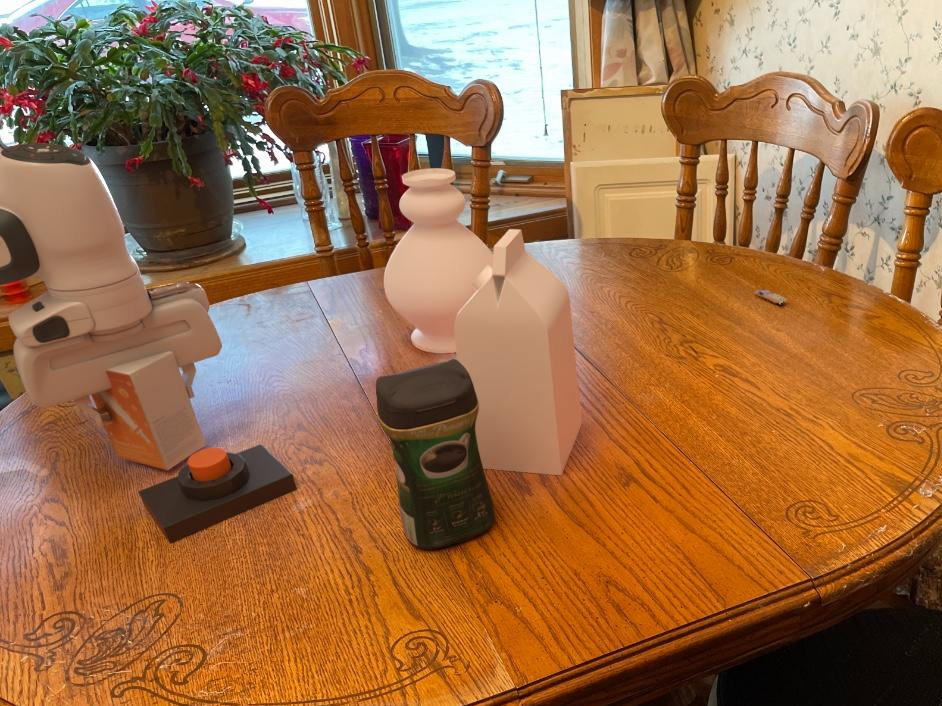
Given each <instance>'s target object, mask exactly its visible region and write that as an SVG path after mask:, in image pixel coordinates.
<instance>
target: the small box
mask: <svg viewBox="0 0 942 706" xmlns="http://www.w3.org/2000/svg"><path fill="white" fill-rule="evenodd" d="M106 373H107V376H108V378H109V380H110V383H111V386H112V388H111V389H108V390H104V391H101V392H98V393H95V394H91V395H90V396H91V398H92V400H93V402H94V405H95V408H96V409H99V408H102V407H105V408H106V410H107V411H108V413H109V415H110V419H111V420H112V422H113V424H112V425H110V426H107V427H104V429H105V430H106V434H107V436H108V438H109V440H110V443H111V445H112V447H113V449H114V451H115V454H116V457H117V458H118V459H122V460H125V461H130V462H135V463H138V464H142V465H147V466H150V467H153V468H157V469H161V470H164V471H169V470H171V469H172V468H174V467H175V466H177V465H178V464H180V463H181V462H182V461H184V460H186V459H188V457H190V456H192V455H193V454H194V453H196V452H198V451H200V450H201V449H202V448H204V447H205V446H206V440H205V438H204V435H203V432H202V430H201V427H200V424H199V421H198V419H197V416H196V413H195V410H194V407H193V405H192V401H191V399H189V396H188V393H187V390H186V387H185V385H184V382H183V379H182V373H181V370H180V368H178V365H177V362H176V359H175V356H174V354H173V352H171V351H167V352H164V353H160V354H157V355H153V356H149V357H146V358H142V359H139V360H135V361H132V362H129V363H125V364H122V365H119V366H116V367H113V368H110V369H107V370H106Z"/></svg>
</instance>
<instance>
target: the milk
mask: <svg viewBox="0 0 942 706" xmlns="http://www.w3.org/2000/svg"><path fill="white" fill-rule="evenodd" d="M522 231H523V230H522V229H516V228H515V229H514V228H510V229H508V230H507V231H506V232H505V234H503V236H502V237H501V238H500V239H499V240H498V241H497V242H496V243H495V244H494V246H493V252H492V254H493V268H491V267H490V266H489V265H487V266H486V268H485V269H484V270H483V271H482V272H481V274H480V275H479V276H478V277H477V278H476V279H475V281H474V282H473V283H472V285H474V286H475V287H476V288H477V289H478V290H477V291H476V292H475V293H474V295H473V296H472V297H471V298H470V299H469V301H468V302H467V303H466V304H465V305H464V307H463V308H462V309H461V310H460V311H459V313H458V314H457V317H456V321H455V324H454V333H455V343H456V352H455V353H456V360H458V361H459V362H460V363H461V364H462V365H463V366H464V367H465V368H466V370H467V371H468V373H469V375H470V377H471V380H472V383H473V385H474V389H475V392H476V395H477V399H478V402H479V411H478V415H477V419H476V424H475V430H476V439H477V445H478V450H479V454H480V458H481V462H482V466H483V470H491V469H492V470H491V471H502V470H503V471H504V472H514V471H515V473H526V472H527V473H528V474H538V475H539V474H540V475H550V476H552V475H553V476H563V473H564V470H565V467H566V466H567V463H568V460H569V458H570V455H571V453H572V450H573V448H574V445H575V443H576V441H577V438H578V434H579V433H580V430H581V427H582V424H583V417H582V408H581V407H582V406H581V399H580V388H579V379H578V377H579V376H578V368H577V359H576V349H575V339H574V329H573V320H572V312H571V311H572V310H571V309H572V307H571V299H570V294H569V291H568V289H567V287H566V285H565V284H564V283H563V282H562V281H561V280H560V278H558V277H557V276H556V275H555V274H554V273H553V272H551V271H550V270H549V269H547V267H545V265H543V264H542V263H541V262H539V261H538V260H537V259H536V258H535V257H533V256H532V255H531V254H529V252H527V251H526V246H525V242H524V236H523V232H522ZM493 469H494V470H493Z"/></svg>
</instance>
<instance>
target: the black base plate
mask: <svg viewBox="0 0 942 706" xmlns="http://www.w3.org/2000/svg"><path fill="white" fill-rule="evenodd" d="M226 453H227V455H228V458H229V461H230V464H231V471H229V472H228V473H227V474H226V475H224V476H222V477H220V478H217V479H215V480H209V481H202V482H200V481H196V480H194V478H193V476H192V473H191V471H190V468H189V466H188V463H187V464H186V465H184V466H183V467H181V469H179V472H178V474H177V476H175V477H172V478H169V479H167V480H164V481H162V482H159V483H156V484H154V485H150V486H148V487H146V488H144V489H140V490H138V495H139V497H140V499H141V502H142V504H143V506H144V508H145V509H146V510H147V512H148V514H149V516H151V518H152V519H153V521H154V522H155V524H156V525H157V526H158V528H159V529H160V531H161V532H162V534H163V535H164V537H165V538H166V539H167V541H168V542H169V544H173V543H176V542H177V541H181V540H183V539H184V538H187V537H189V536H191V535H194V534H196V533H199V532H201V531H204V530H205V529H206V530H207V529H209V528H210V527H212V526H216V525H217V524H219V523H222V522H224V521H227V520H229V519H232V518H234V517H236V516H238V515H240V514H243V513H246V512H248V511H250V510H253V509H255V508H257V507H260V506H262V505H264V504H266V503H269V502H271V501H274V500H276V499H278V498H280V497H282V496H285V495H287V494H290V493H292V492H294V491H297V485H296V482H295V481H296V480H295V478H294V474H293V472H291V471H290V470H289V468H287V467H286V466H285V465H283V463H282V462H281V461H279V460H278V458H276V456H275V455H274V454H273V453H271V452H270V451H269V449H267V448H266V447H265V446H264V445H263V444H262V443H260V444H258V445H255V446H252V447H250V448H247V449H244V450H241V451H240V452H237V453H235V452H230V451H226Z"/></svg>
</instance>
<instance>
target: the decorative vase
mask: <svg viewBox="0 0 942 706" xmlns="http://www.w3.org/2000/svg"><path fill="white" fill-rule="evenodd" d="M456 177H457V176H456V172H455V171H454V170H452V169H449V168H442V167H441V168H440V167H439V168H438V167H436V168H435V167H433V168H422V169H421V168H420V169H415V170H410V171H408V172H406V173H403V174H402V175H401V181H402V184H403V185H405V186H407V187H409V188H408V189H407V190H406V191H405V192H404V193H403V194H402V196H401V197H400V199H399V203H398V205H399V206H398V207H399V210H400V213H401V214H402V216H404V217H405V218H406V219H407V220H409V221H410V222H411V223H412V225H411V226H410V228H409V229H408V230H407V231H406V232H405V234H403V236H402V237H401V238H400V240H399V241H398V243H397V245H396V246H395V247H394V249H393V251H392V253H391V254H390V257H389V258H388V261H387V264H386V266H385V269H384V274H383V288H384V293H385V297H386V299H387V301H388V303H389V304H390V306H391V307H392V308H393V309H394V310H395V311H396V312H397V313H398V314H399V316H401V317H402V318H403V319H404V320H405V321H407V322H408V323H409V324H410V325H412V326H413V327H414V328H415V329H414V330H413V331H412V332H411V335H410V340H411V343H412V345H413V346H414V347H415V348H416V349H418V350H421V351H423V352H426V353H430V354H431V353H432V354H454V353H456V343H455V333H454V324H455V321H456V317H457V314H458V313H459V311H460V310H461V309H462V308H463V307H464V305H465V304H466V303H467V302H468V301H469V299H470V298H471V297H472V296H473V295H474V293H475V292H476V291H477V290H478V289H477V288H476V287H475V286H474V285H472V283H473V282H474V281H475V279H476V278H477V277H478V276H479V275H480V274H481V272H482V271H483V270H484V269H485V268H486V266H487V265H489V266H490V267H491V268H493V252H492V251H491V249H490V248H489V246H487V245H486V244H485V242H484V241H483V240H482V239H480V238H479V237H478V235H476V234H475V233H474V232H473V231H471V230H470V229H469V228H468V227H466V226H465V225H464V224H462V222H460V221H458V218H459V217H460V216H461V215H462V213H463V212H464V210H465V208H466V205H467V202H466V201H467V200H466V198H465V196H464V194H463V193H462V192H461V190H459V189H458V188H457V187H455V186H454V185H452V184H451V183H453V182H454V181H456V179H457V178H456Z"/></svg>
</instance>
